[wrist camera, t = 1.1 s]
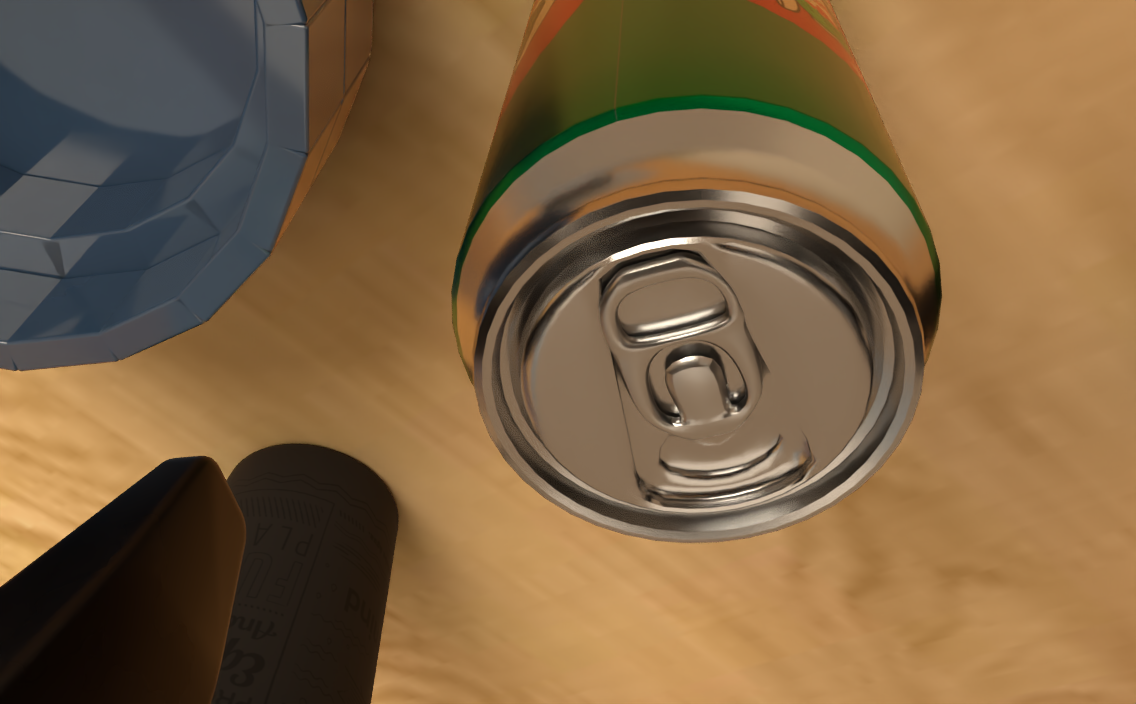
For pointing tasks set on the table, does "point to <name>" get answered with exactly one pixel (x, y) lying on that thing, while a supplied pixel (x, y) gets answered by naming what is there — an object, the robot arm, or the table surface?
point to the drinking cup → (308, 579)
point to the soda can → (693, 268)
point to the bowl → (156, 159)
